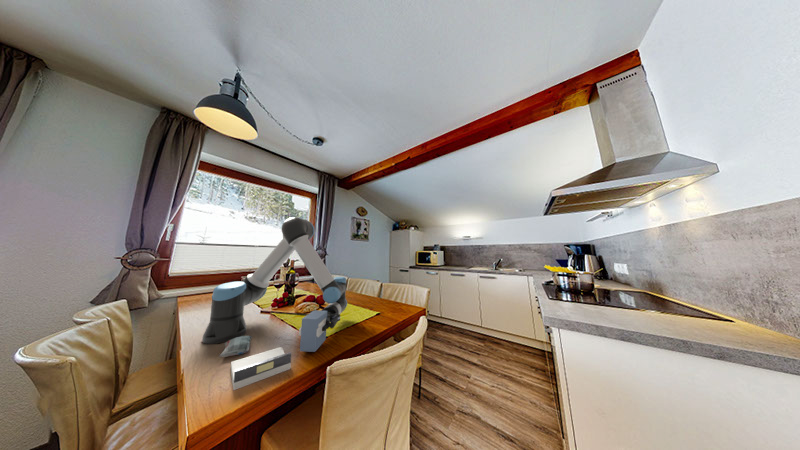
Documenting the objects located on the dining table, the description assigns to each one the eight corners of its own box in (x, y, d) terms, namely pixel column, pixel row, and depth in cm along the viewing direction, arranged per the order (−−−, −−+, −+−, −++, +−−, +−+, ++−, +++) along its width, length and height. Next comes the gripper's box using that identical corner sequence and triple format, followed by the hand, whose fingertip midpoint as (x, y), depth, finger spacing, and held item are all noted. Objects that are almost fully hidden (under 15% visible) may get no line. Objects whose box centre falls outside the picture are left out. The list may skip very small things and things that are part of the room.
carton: (299, 351, 76) (301, 318, 77) (312, 338, 85) (314, 310, 87) (315, 351, 75) (317, 319, 77) (326, 339, 85) (327, 310, 86)
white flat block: (230, 368, 67) (232, 352, 68) (280, 352, 77) (281, 338, 78) (233, 391, 57) (235, 372, 57) (290, 369, 67) (291, 353, 67)
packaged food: (218, 363, 70) (220, 348, 71) (224, 348, 80) (225, 335, 80) (249, 356, 75) (250, 342, 76) (251, 343, 85) (252, 331, 85)
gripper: (349, 320, 98) (332, 343, 75) (312, 319, 99) (283, 341, 76) (350, 305, 99) (333, 323, 76) (313, 303, 100) (285, 321, 77)
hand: (308, 332), depth 76 cm, fingers closed on carton, 6 cm apart
